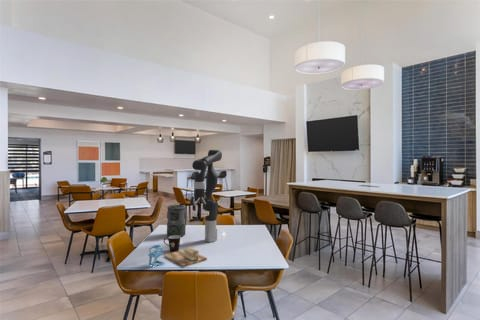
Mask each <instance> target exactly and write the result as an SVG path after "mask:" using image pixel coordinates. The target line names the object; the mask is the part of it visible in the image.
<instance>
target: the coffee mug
mask: <svg viewBox="0 0 480 320" xmlns="http://www.w3.org/2000/svg"><path fill="white" fill-rule="evenodd" d="M165 240H167V241H168V243H166V242H165ZM180 242H181V237H180V236H178V235H173V236H168V238H167V237H165V238H164V239H163V243H164V244H165V245H166V246H167V247H169V253H173V252H176V251H180V250H179V249H180Z"/></svg>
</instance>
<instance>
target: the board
mask: <svg viewBox="0 0 480 320" xmlns="http://www.w3.org/2000/svg"><path fill="white" fill-rule="evenodd" d="M163 255H164V257H165V258H166V259H168V260H169V259H170V260H169V261H170V262H173V263H175V264H176V265H179V266H180V267H182V268H185V267H188V266H192V265H195V264H199V263H202V262H205V261H208V257H206V256H204V255H202V254H200V253H198V260H196V261H193V262H191V261H189V260H187V259H185V258H184V249H181V250H179V251H176V252H169V253H166V254H163Z"/></svg>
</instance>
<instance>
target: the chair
mask: <svg viewBox="0 0 480 320" xmlns="http://www.w3.org/2000/svg"><path fill="white" fill-rule="evenodd" d="M154 248H155V249H154ZM152 249H154V251H153V252H152ZM148 250H149V253H148V254H147V255H148V257H149V259H148V267H149V266H150V265H152V266H150V267H151V268H154V267H153V266H156V267H158V266H157V265H160V266H162V265H161V264H164V265H166V264H165V262H164V261H161V260H158V259H159V257H161V256H163V255H164V253H163V246H161V245H160V244H157V245H152V246H150V248H148ZM159 250H160V251H159ZM152 258H154V261H153V262H152ZM155 262H156V263H157V264H156V263H155ZM159 262H160V263H159Z"/></svg>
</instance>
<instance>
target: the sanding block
mask: <svg viewBox="0 0 480 320" xmlns="http://www.w3.org/2000/svg"><path fill="white" fill-rule="evenodd" d="M183 250H184V258H185V259H187V260H189V261H191V262H193V261H196V260H198V254H199V250H198V249H195V248H193V247H187V248H184V249H183Z"/></svg>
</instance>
